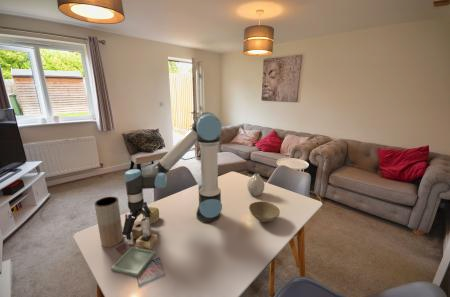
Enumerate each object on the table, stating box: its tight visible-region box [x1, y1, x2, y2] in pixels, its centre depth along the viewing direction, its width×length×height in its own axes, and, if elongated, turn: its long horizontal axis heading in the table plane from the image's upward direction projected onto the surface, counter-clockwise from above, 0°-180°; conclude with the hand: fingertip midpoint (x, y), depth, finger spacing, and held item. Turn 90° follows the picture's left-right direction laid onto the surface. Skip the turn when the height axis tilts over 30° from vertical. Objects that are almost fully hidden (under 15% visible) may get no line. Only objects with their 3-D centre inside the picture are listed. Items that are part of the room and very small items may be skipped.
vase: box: [246, 173, 265, 197], centre depth 153 cm, size 13×13×17 cm
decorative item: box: [142, 206, 160, 225], centre depth 121 cm, size 10×10×10 cm
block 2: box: [135, 232, 158, 250], centre depth 101 cm, size 7×7×4 cm
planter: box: [94, 195, 124, 248], centre depth 101 cm, size 10×10×23 cm
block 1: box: [131, 220, 150, 241], centre depth 107 cm, size 7×7×6 cm
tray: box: [110, 245, 156, 277], centre depth 91 cm, size 13×13×2 cm
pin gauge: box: [140, 218, 150, 242], centre depth 100 cm, size 3×3×14 cm
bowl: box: [248, 200, 281, 223], centre depth 122 cm, size 18×18×8 cm
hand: (139, 235), depth 108 cm, fingers open, 13 cm apart
